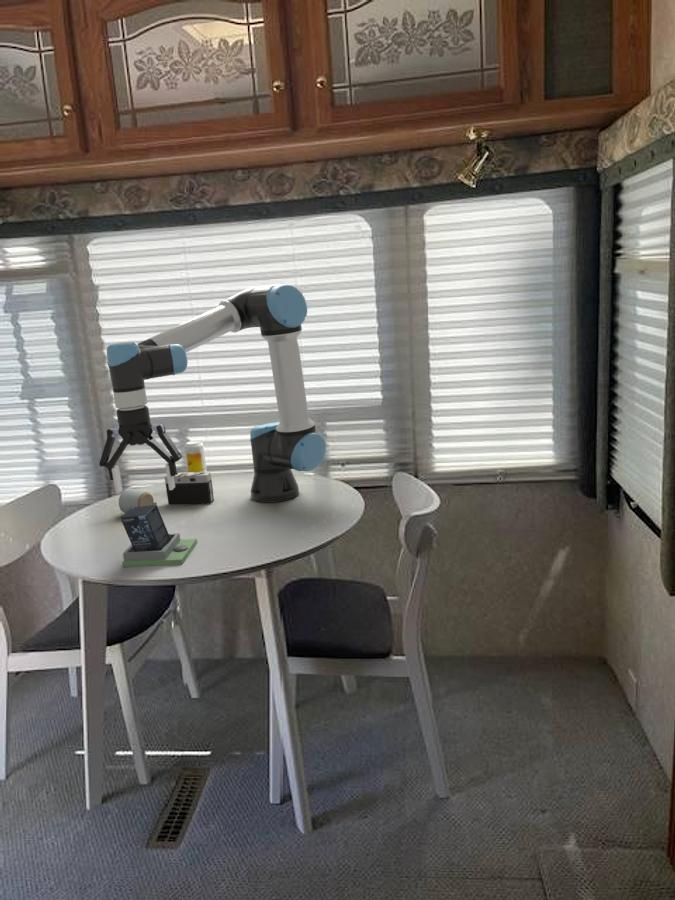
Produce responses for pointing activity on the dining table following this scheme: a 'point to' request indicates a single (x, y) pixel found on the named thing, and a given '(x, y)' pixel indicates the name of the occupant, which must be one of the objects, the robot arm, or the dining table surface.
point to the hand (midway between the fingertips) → (145, 490)
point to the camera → (190, 489)
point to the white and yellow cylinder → (195, 456)
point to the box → (145, 528)
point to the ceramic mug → (134, 499)
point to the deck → (161, 553)
